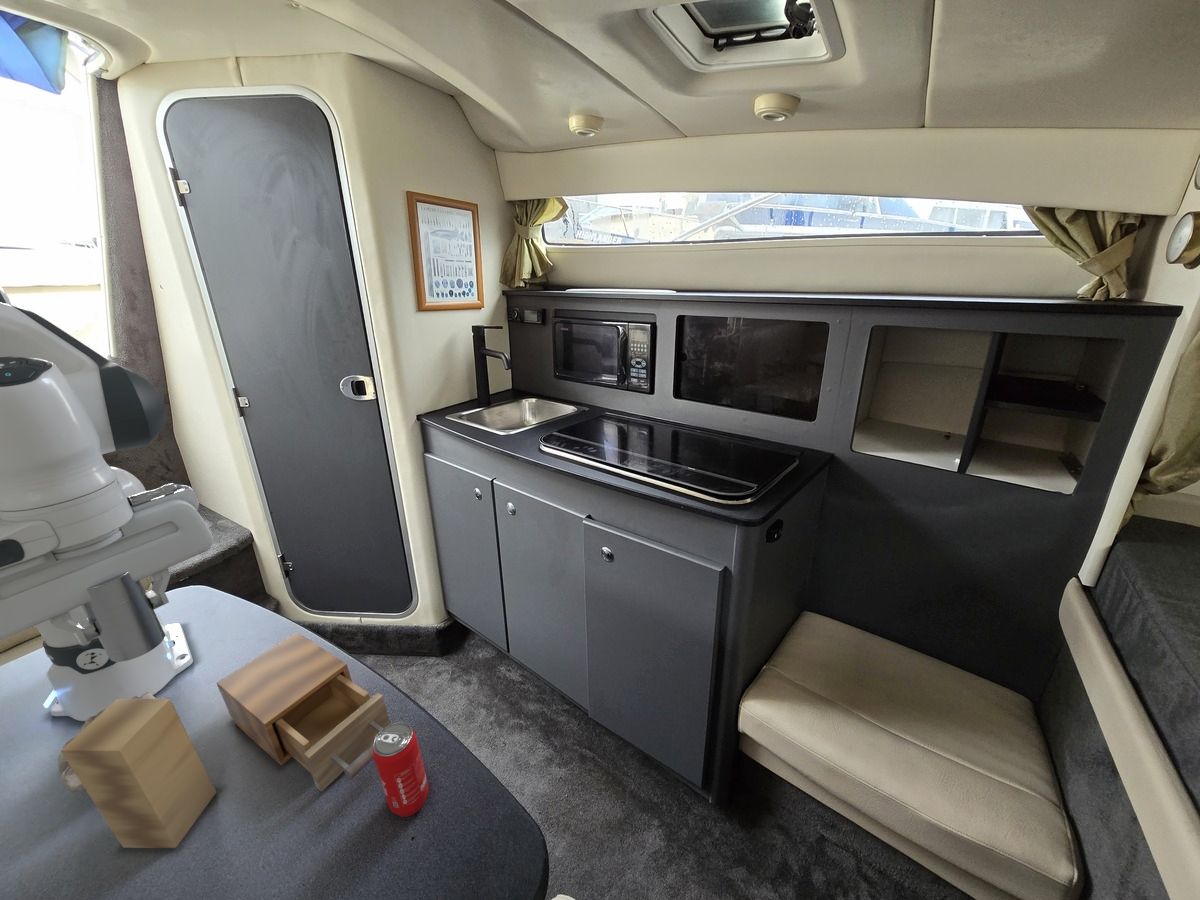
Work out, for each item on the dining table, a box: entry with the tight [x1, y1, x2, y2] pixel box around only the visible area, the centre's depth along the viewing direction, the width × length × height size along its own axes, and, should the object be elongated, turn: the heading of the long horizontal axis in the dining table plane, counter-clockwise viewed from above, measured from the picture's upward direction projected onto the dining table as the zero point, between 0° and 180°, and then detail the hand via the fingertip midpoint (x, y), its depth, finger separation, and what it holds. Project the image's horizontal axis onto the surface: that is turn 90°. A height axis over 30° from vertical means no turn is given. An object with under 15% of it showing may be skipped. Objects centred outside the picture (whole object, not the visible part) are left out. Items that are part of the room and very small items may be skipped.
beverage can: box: [373, 721, 429, 818], centre depth 65 cm, size 5×5×12 cm
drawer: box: [272, 674, 392, 792], centre depth 73 cm, size 18×11×7 cm, turn 59°
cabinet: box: [216, 631, 353, 766], centre depth 79 cm, size 15×13×9 cm
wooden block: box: [60, 698, 217, 849], centre depth 63 cm, size 7×7×18 cm
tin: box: [81, 572, 165, 662], centre depth 56 cm, size 5×5×10 cm
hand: (125, 621), depth 56 cm, fingers closed on tin, 5 cm apart
